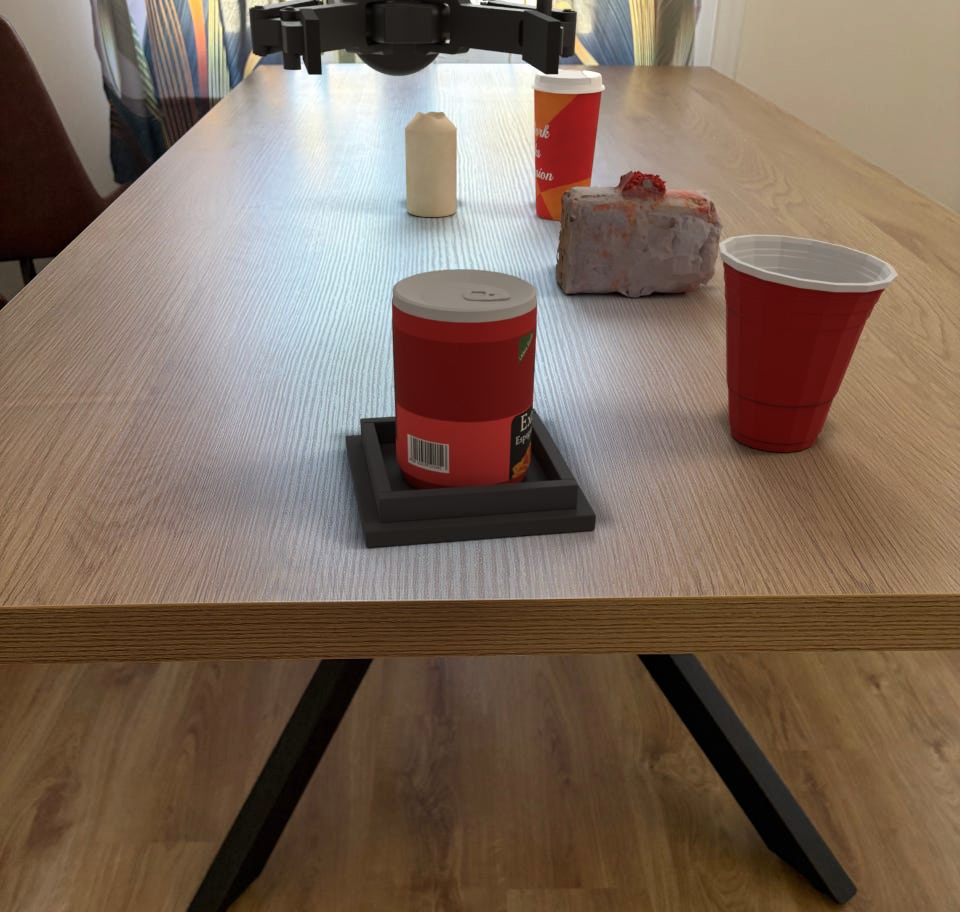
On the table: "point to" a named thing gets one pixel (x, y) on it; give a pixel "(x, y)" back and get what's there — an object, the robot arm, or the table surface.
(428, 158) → the candle
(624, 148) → the table surface
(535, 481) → the base pad
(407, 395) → the canned food
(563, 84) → the paper cup
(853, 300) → the plastic cup
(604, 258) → the food item
